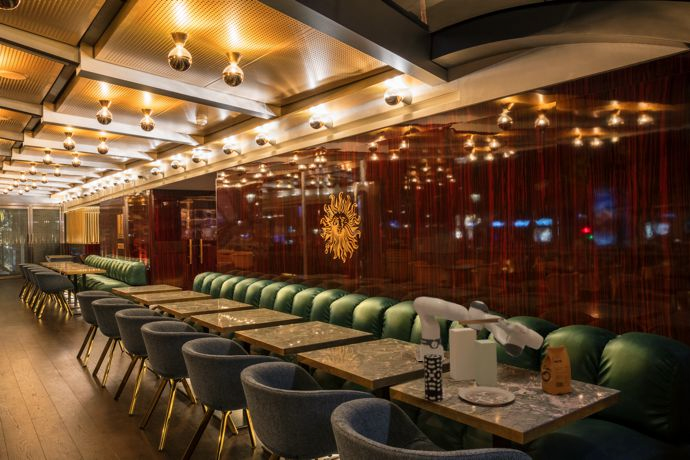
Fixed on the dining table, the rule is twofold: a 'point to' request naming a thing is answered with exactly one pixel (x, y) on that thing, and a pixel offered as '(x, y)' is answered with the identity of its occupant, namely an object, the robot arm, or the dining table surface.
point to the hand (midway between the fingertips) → (496, 319)
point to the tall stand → (462, 353)
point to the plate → (469, 390)
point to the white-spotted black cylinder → (433, 377)
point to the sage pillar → (485, 363)
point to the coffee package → (556, 371)
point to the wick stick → (479, 321)
